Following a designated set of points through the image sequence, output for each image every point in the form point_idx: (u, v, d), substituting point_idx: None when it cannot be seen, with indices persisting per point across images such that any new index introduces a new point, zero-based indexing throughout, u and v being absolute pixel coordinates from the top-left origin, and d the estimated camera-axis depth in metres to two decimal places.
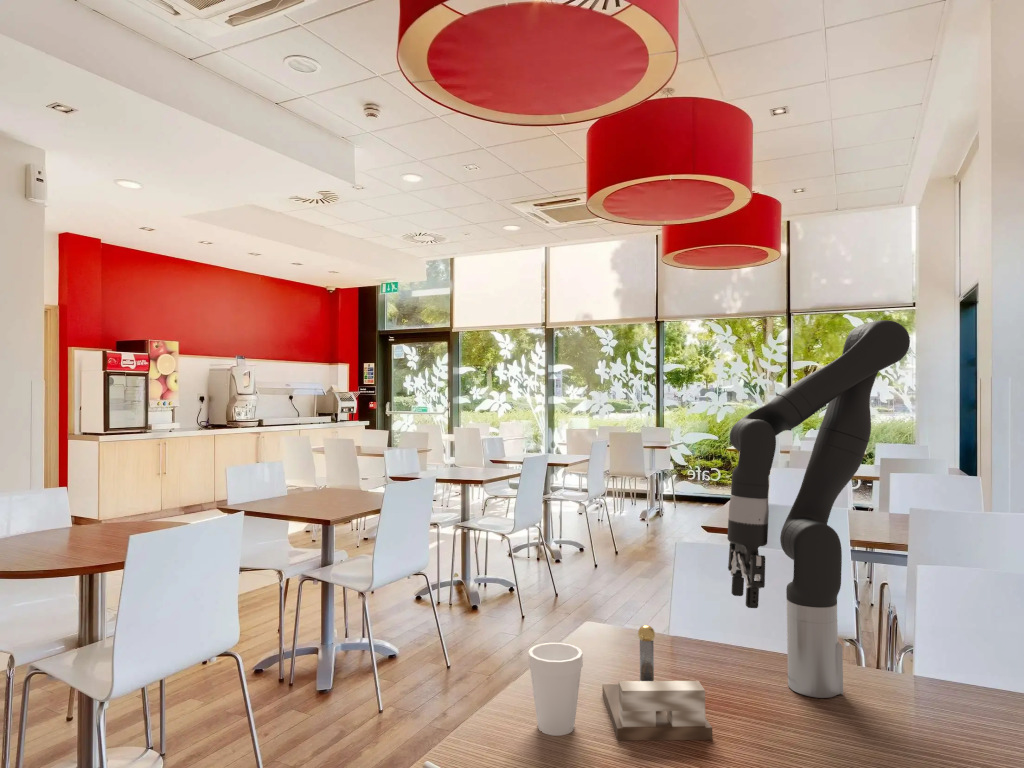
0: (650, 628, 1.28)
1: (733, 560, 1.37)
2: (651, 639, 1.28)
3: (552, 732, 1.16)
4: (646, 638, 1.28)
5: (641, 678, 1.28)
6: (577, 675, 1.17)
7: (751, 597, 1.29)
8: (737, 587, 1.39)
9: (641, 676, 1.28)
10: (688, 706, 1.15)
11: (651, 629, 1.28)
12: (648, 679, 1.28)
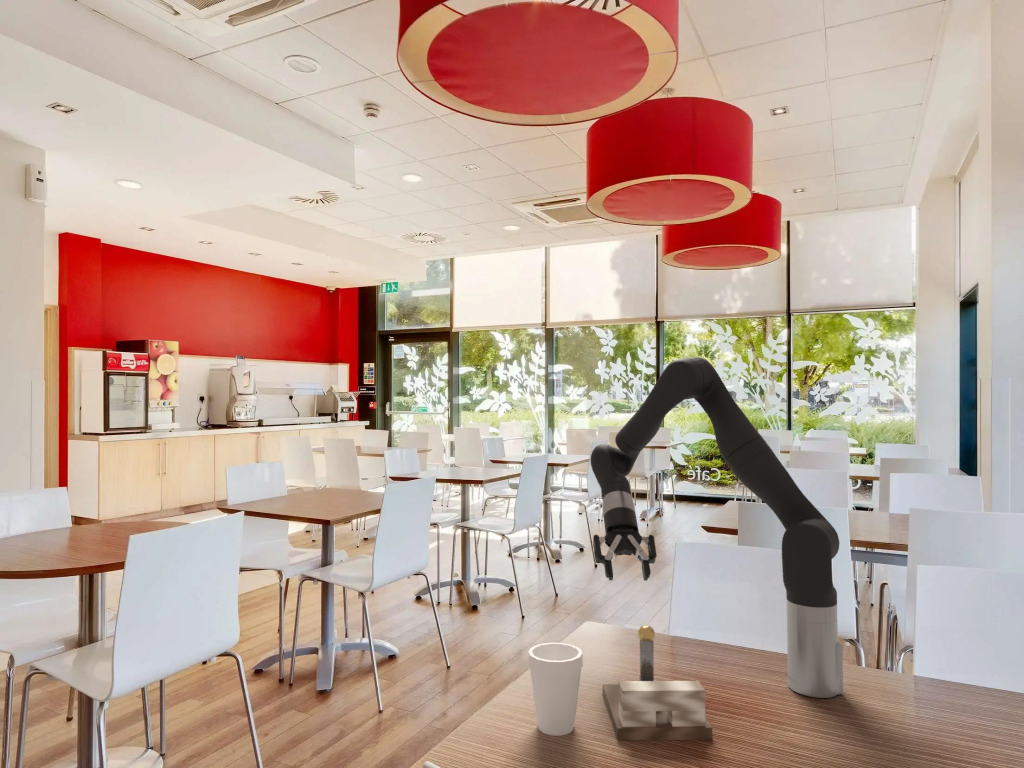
0: (650, 628, 1.28)
1: None
2: (651, 639, 1.28)
3: (552, 732, 1.16)
4: (646, 638, 1.28)
5: (641, 678, 1.28)
6: (577, 675, 1.17)
7: (605, 570, 1.49)
8: (643, 572, 1.48)
9: (641, 676, 1.28)
10: (688, 706, 1.15)
11: (651, 629, 1.28)
12: (648, 679, 1.28)
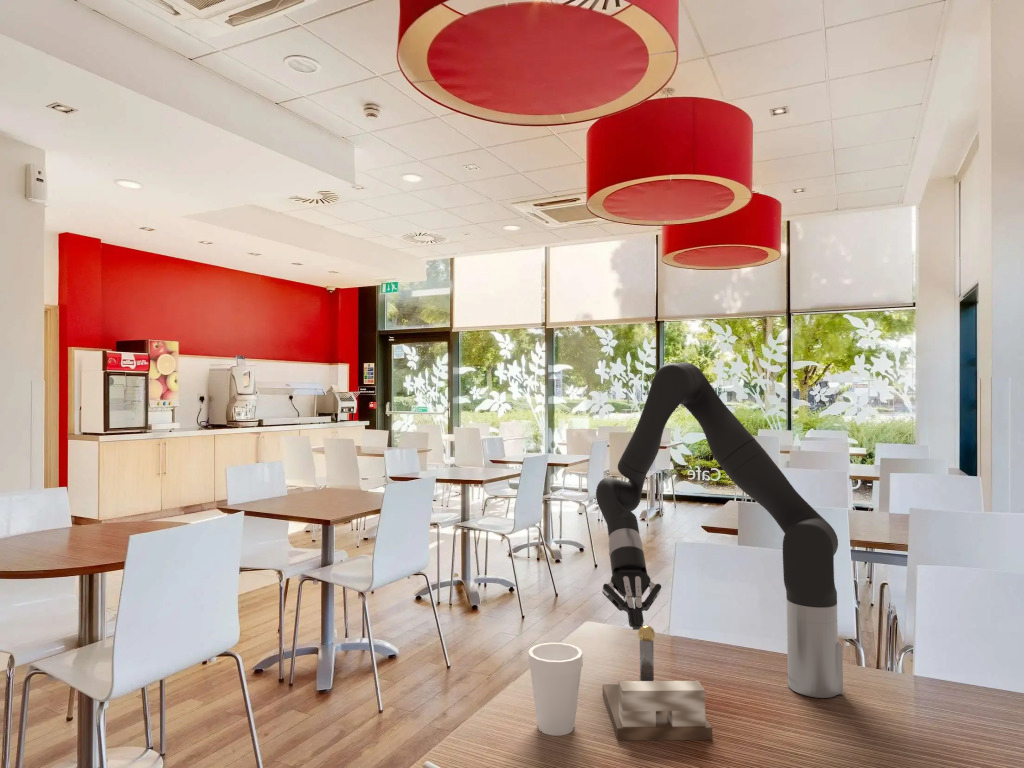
0: (650, 628, 1.28)
1: None
2: (651, 639, 1.28)
3: (552, 732, 1.16)
4: (646, 638, 1.28)
5: (641, 678, 1.28)
6: (577, 675, 1.17)
7: (628, 619, 1.40)
8: None
9: (641, 676, 1.28)
10: (688, 706, 1.15)
11: (651, 629, 1.28)
12: (648, 679, 1.28)
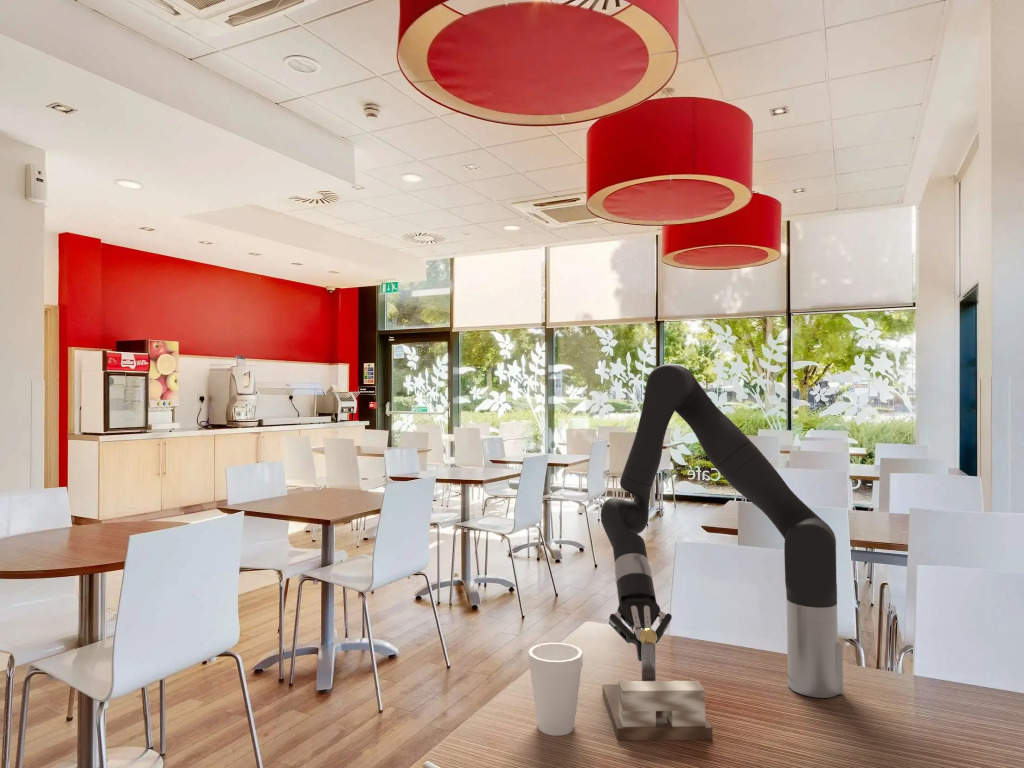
0: (652, 631, 1.27)
1: None
2: (653, 642, 1.26)
3: (552, 732, 1.16)
4: (648, 641, 1.26)
5: None
6: (577, 675, 1.17)
7: (637, 652, 1.31)
8: None
9: (643, 679, 1.27)
10: (688, 706, 1.15)
11: (653, 632, 1.27)
12: None
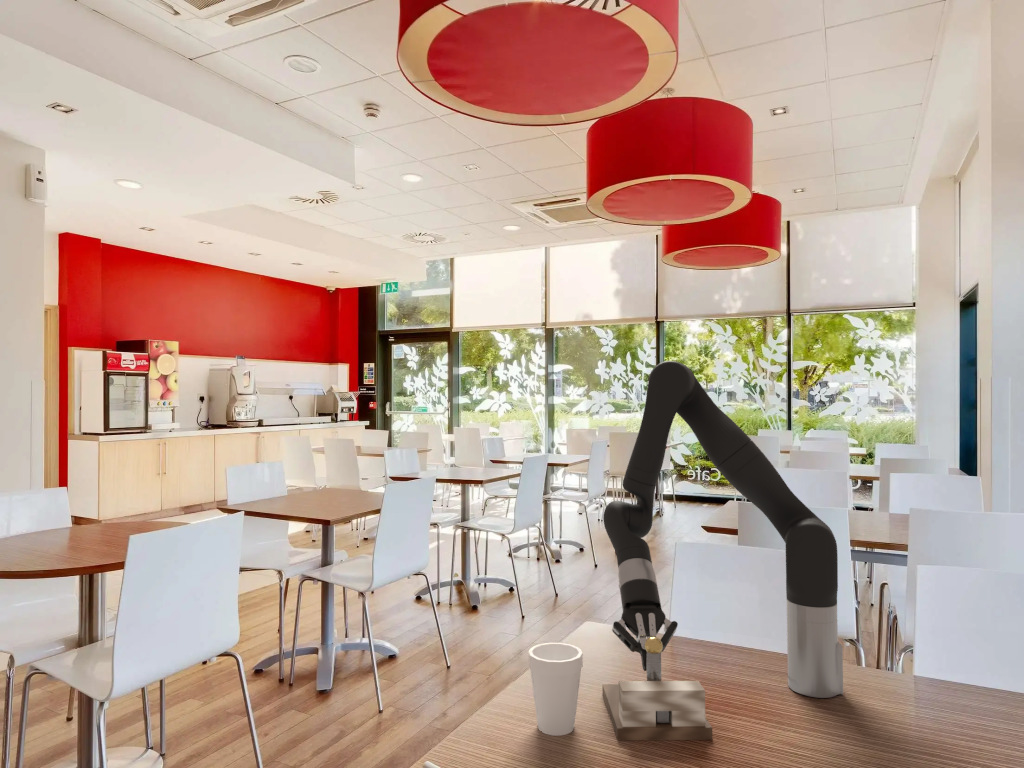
0: (657, 640, 1.22)
1: None
2: (658, 651, 1.22)
3: (552, 732, 1.16)
4: (653, 650, 1.21)
5: None
6: (577, 675, 1.17)
7: (642, 662, 1.26)
8: None
9: None
10: (688, 706, 1.15)
11: (658, 641, 1.22)
12: None
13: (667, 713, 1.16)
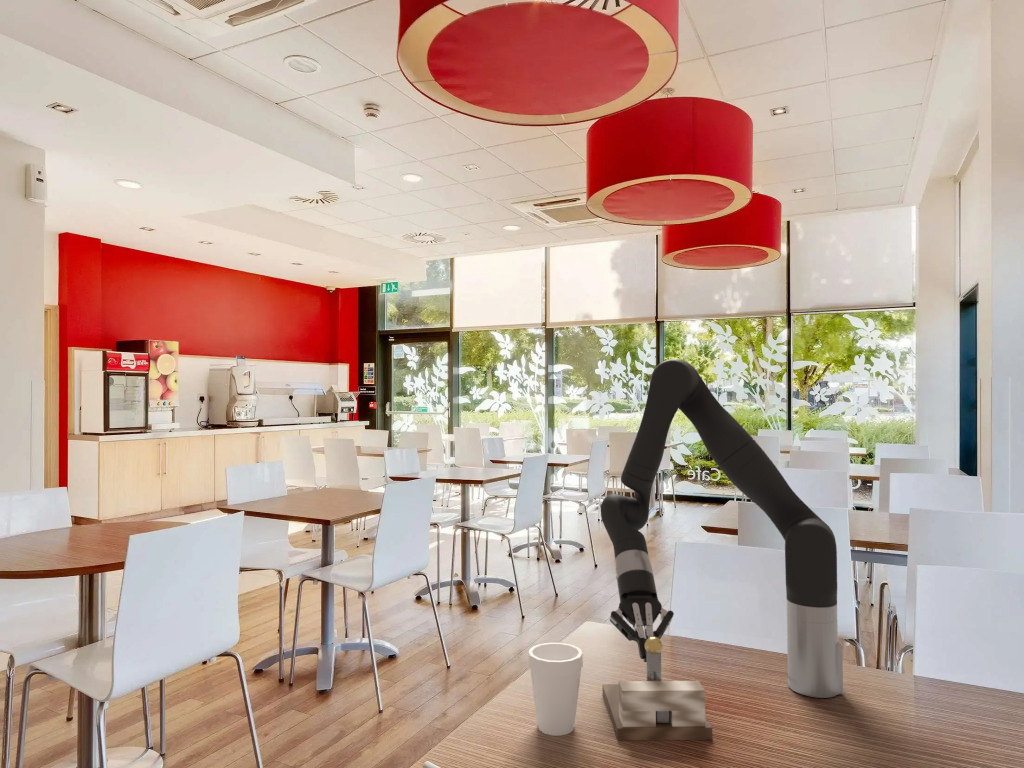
0: (657, 640, 1.22)
1: None
2: (658, 651, 1.21)
3: (552, 732, 1.16)
4: (653, 650, 1.21)
5: None
6: (577, 675, 1.17)
7: (639, 650, 1.29)
8: None
9: None
10: (688, 706, 1.15)
11: (658, 641, 1.22)
12: None
13: (667, 713, 1.15)
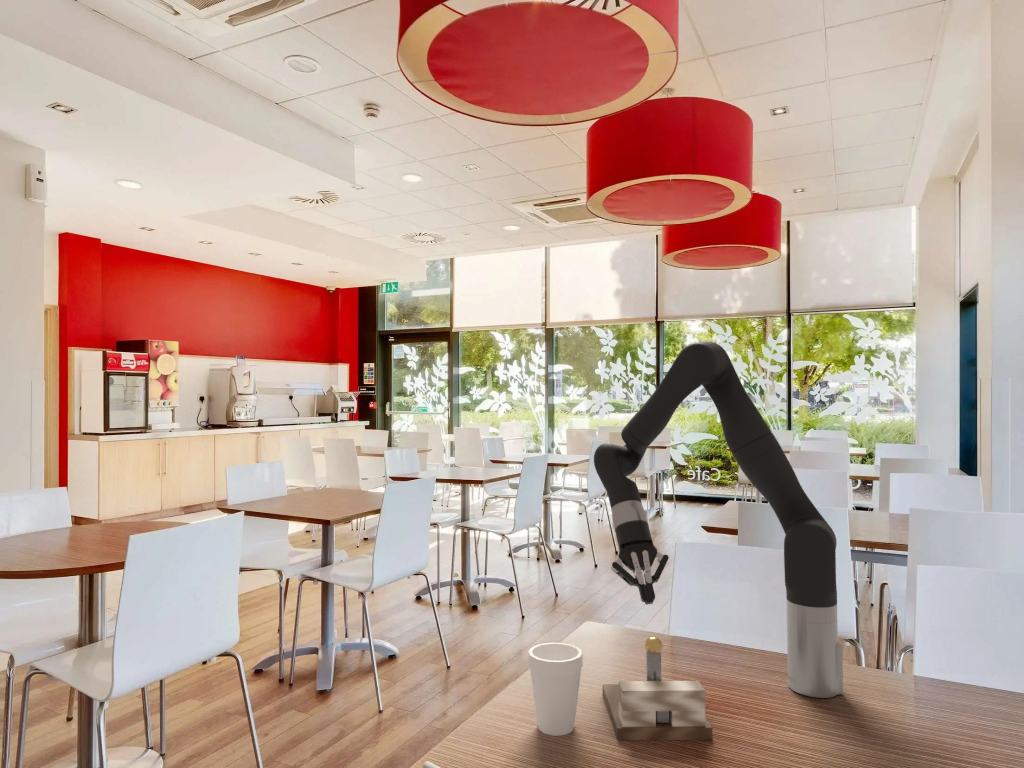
0: (657, 640, 1.22)
1: None
2: (658, 651, 1.21)
3: (552, 732, 1.16)
4: (653, 650, 1.21)
5: None
6: (577, 675, 1.17)
7: (640, 594, 1.44)
8: None
9: None
10: (688, 706, 1.15)
11: (658, 641, 1.22)
12: None
13: (667, 713, 1.15)
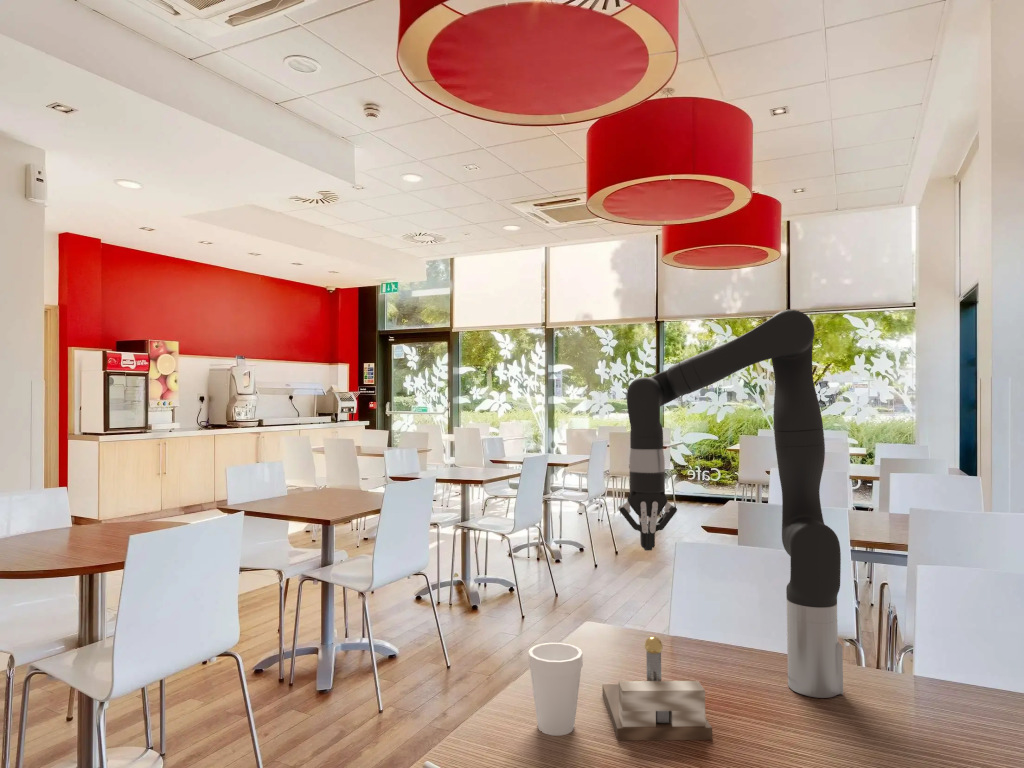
0: (657, 640, 1.22)
1: None
2: (658, 651, 1.21)
3: (552, 732, 1.16)
4: (653, 650, 1.21)
5: None
6: (577, 675, 1.17)
7: None
8: None
9: None
10: (688, 706, 1.15)
11: (658, 641, 1.22)
12: None
13: (667, 713, 1.15)
